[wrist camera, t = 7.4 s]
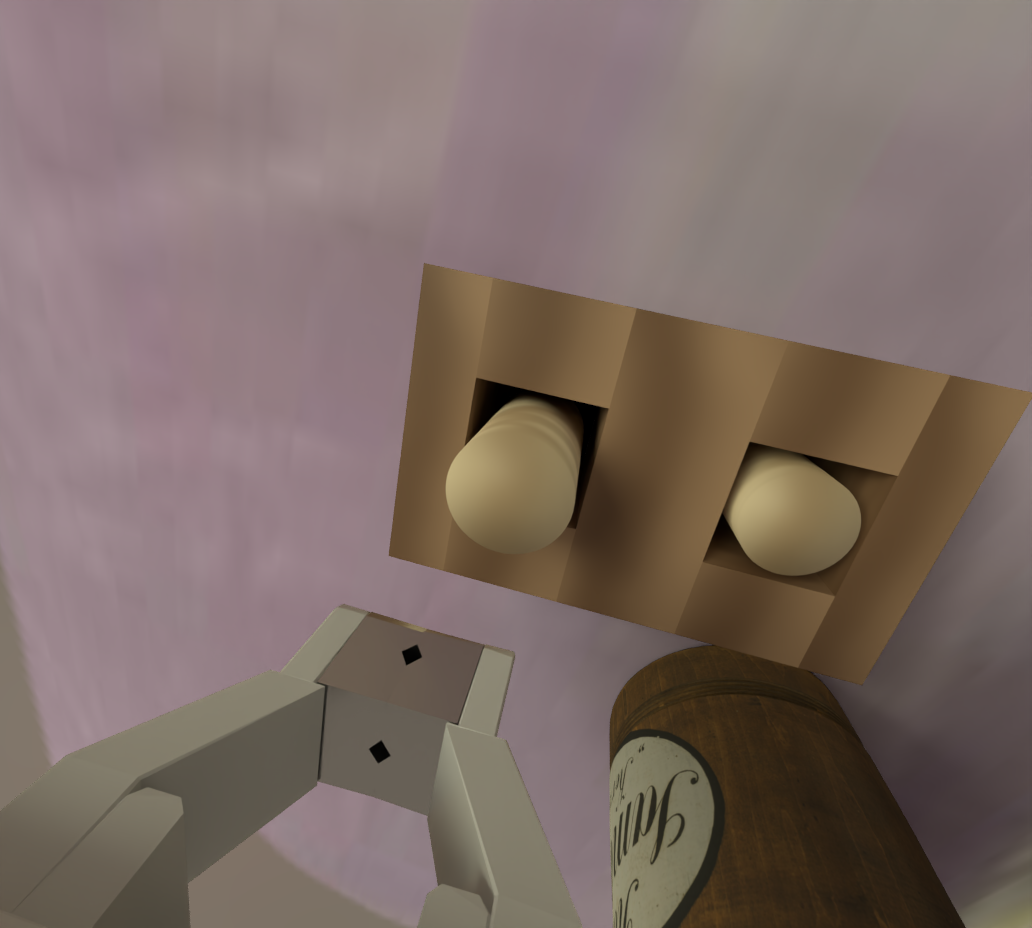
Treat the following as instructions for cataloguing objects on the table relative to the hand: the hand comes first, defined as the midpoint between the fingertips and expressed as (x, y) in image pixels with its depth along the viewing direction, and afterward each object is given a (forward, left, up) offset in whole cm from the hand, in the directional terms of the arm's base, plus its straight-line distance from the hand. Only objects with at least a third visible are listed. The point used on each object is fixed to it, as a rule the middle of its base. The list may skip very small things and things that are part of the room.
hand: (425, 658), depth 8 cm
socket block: (-5, 0, -20) cm, 21 cm away
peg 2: (-10, 0, -19) cm, 21 cm away
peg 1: (0, 0, -15) cm, 15 cm away
